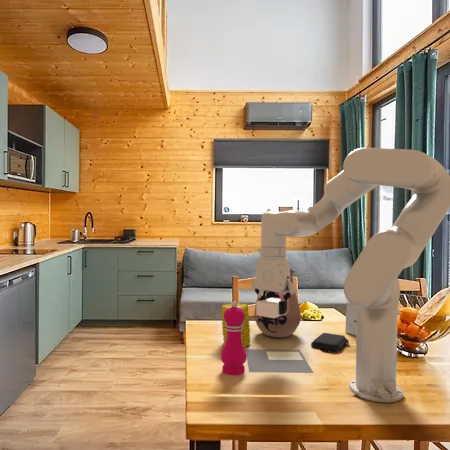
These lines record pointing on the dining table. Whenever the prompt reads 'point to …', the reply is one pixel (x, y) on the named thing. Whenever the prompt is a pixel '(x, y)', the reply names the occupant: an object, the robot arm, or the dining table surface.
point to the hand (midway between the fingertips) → (272, 311)
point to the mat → (277, 361)
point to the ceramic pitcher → (280, 317)
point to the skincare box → (351, 319)
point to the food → (246, 330)
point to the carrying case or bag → (329, 342)
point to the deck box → (269, 307)
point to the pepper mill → (233, 342)
